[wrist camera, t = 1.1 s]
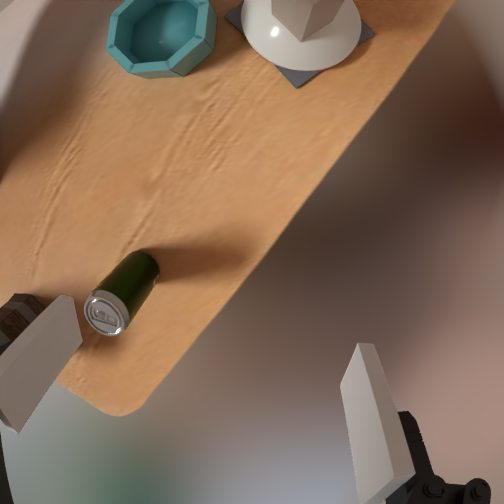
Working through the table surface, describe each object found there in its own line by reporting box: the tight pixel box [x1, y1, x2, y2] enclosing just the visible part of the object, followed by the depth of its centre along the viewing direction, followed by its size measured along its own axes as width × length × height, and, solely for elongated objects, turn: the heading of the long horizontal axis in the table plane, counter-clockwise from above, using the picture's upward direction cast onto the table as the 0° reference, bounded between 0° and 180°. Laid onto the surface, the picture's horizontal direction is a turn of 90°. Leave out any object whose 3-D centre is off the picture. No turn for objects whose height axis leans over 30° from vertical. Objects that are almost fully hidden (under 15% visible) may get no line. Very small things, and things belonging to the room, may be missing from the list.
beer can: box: [84, 251, 160, 336], centre depth 34 cm, size 5×5×12 cm
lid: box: [241, 0, 361, 72], centre depth 20 cm, size 13×13×12 cm
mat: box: [224, 2, 375, 89], centre depth 26 cm, size 12×12×1 cm
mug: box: [0, 294, 46, 347], centre depth 39 cm, size 20×14×15 cm
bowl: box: [106, 0, 218, 79], centre depth 25 cm, size 11×11×5 cm
